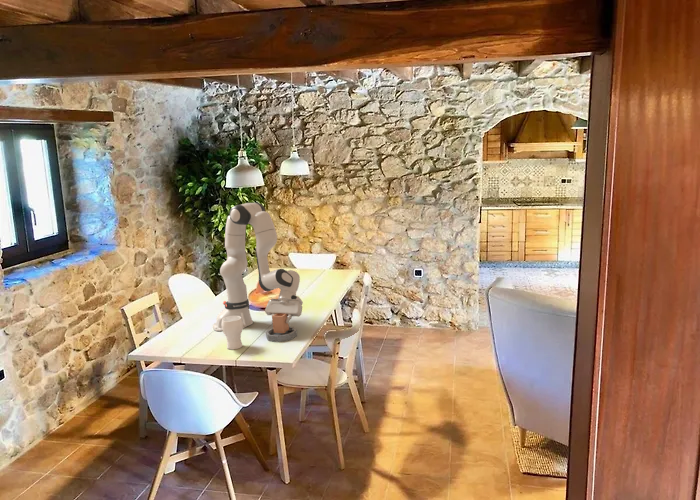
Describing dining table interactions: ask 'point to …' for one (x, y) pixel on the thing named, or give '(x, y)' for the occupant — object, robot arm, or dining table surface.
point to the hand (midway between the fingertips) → (279, 322)
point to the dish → (281, 335)
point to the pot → (280, 323)
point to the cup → (232, 331)
